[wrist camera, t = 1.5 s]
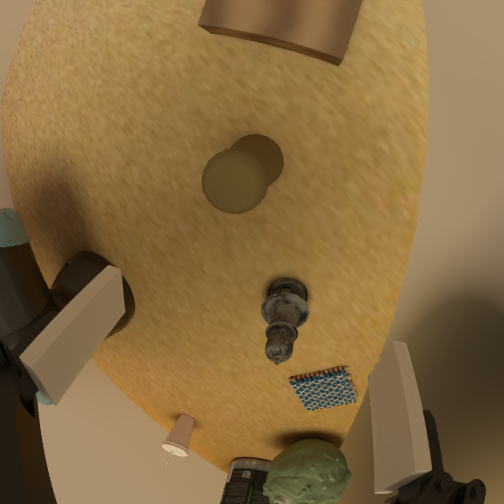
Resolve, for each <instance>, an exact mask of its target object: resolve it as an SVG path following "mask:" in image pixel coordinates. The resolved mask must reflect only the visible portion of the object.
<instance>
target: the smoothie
mask: <svg viewBox="0 0 504 504" xmlns="http://www.w3.org/2000/svg"><path fill="white" fill-rule="evenodd" d="M193 426H194V419H193V418H191V417H190V416H187V415H180V417H179V419H178V420H177V422H176V423H175V425H174V427H173V428H172V430H171V432H170V433H169V435H168V437H167V438H166V440H165V441H163V443H162V447H163V448H164V449H165V450H166V451H168V452H170V454H169V457H168V459H167V461H166V465H168V463H169V461H170V458H171V456H172V454H175V455H178V456H184V457H185V456H187V455H188V453H189V451H188V449H189V444H190V439H191V435H192V430H193Z"/></svg>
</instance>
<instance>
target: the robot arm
mask: <svg viewBox="0 0 504 504" xmlns="http://www.w3.org/2000/svg"><path fill="white" fill-rule="evenodd" d="M29 241H30V238H29V237H28V236H27V234H26V232H25V229H24V227H23V224H22V222H21V219H20V216H19V214H18V213H17V212H16V211H15V210H13V209H11V208H4V209H0V504H57V502H56V499H55V495H54V492H53V488H52V485H51V480H50V476H49V472H48V468H47V464H46V459H45V454H44V448H43V442H42V436H41V430H40V422H39V413H38V403H37V401H38V402H39V403H42V404H45V405H50V404H54V405H56V406H57V404H58V403H59V401H60V400H61V398H62V397H63V395H64V394H65V392H66V391H67V390H68V388H69V387H70V385H71V384H72V382H73V381H74V380H75V378H76V377H77V375H78V374H79V373H80V371H81V370H82V368H83V367H84V366H85V364H86V363H87V362H88V360H89V359H90V358H91V356H92V355H93V354H94V352H95V351H96V350H97V348H98V347H99V346H100V344H101V343H102V342H103V341H104V340H105V339H107V338H109V337H110V336H112V335H114V334H115V333H117V332H119V331H121V330H122V329H123V328H125V327H126V325H127V324H128V323H129V321H130V320H131V319H132V317H133V315H134V309H135V305H134V299H133V296H132V293H131V290H130V288H129V286H128V284H127V283H126V281H125V280H124V278H123V277H122V272H121V269H119V268H116V267H114V266H112V265H111V264H110V263H109V262H108V261H106V260H105V259H103V258H102V257H100V256H98V255H96V254H94V253H90V252H79V253H76V254H74V255H73V256H72V257H71V258H69V259H68V260H67V261H66V262H65V263H64V264H63V266H62V268H61V270H60V271H59V273H58V275H57V277H56V279H55V280H54V282H53V284H52V286H51V288H50V289H49V288H48V286H47V284H46V282H45V280H44V278H43V275H42V273H41V271H40V268H39V266H38V264H37V261H36V259H35V256H34V254H33V251H32V249H31V246H30V243H29ZM368 383H369V392H370V402H371V414H372V428H373V446H374V476H375V477H374V480H375V481H374V482H375V483H374V485H375V487H374V490H375V491H374V494H380V493H391V492H393V491H395V490H397V489H398V491H399V494H397V495H395V496H393V497H391V498H389V499H387V500H386V501H385V503H388V502H390V501H391V502H390V504H484V500H485V495H486V489H485V485H484V483H483V482H482V481H481V480H479V479H474V480H472V481H471V482H469V483H467V484H466V483H461V482H456V481H453V478H452V477H451V475H450V474H449V473H447V472H444V469H443V464H442V457H441V451H440V445H439V440H438V434H437V432H436V430H437V428H436V423H435V419H434V417H433V416H432V414H431V412H430V410H422V405H421V400H420V396H419V391H418V387H417V384H416V379H415V375H414V371H413V367H412V363H411V359H410V356H409V352H408V349H407V345H406V343H404V342H399V341H392V342H391V344H390V346H389V347H388V348H387V350H386V352H385V353H384V354H383V356H382V357H381V359H380V360H379V362H378V363H377V364H376V366H375V367H374V369H373V370H372V371H371V373H370V374H369V375H368Z"/></svg>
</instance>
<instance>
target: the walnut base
mask: <svg viewBox="0 0 504 504" xmlns="http://www.w3.org/2000/svg"><path fill="white" fill-rule="evenodd" d="M361 3H362V0H206V3H205V5H204V8H203V11H202V13H201V16H200V19H199V22H198V25H199V26H201V27H202V28H204V29H205V30H207V31H208V32H209V33H212V34H218V35H225V36H231V37H236V38H241V39H246V40H251V41H256V42H260V43H265V44H269V45H273V46H277V47H281V48H284V49H288V50H291V51H295V52H298V53H302V54H305V55H308V56H311V57H314V58H317V59H320V60H323V61H326V62H329V63H332V64H334V65H337V66H339V65H340V63H341V62H342V60H343V58H344V55H345V52H346V49H347V46H348V43H349V40H350V37H351V34H352V31H353V28H354V25H355V22H356V18H357V15H358V12H359V9H360V6H361Z"/></svg>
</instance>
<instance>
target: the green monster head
mask: <svg viewBox="0 0 504 504" xmlns="http://www.w3.org/2000/svg"><path fill="white" fill-rule="evenodd" d="M350 480H351V473H350V471H349V469H348V466H347V462H346V458H345V456H344V455H343V453H342V452H341V451H340V450H339V449H338V448H337V447H336V446H335V445H333V444H331V443H329V442H327V441H324V440H320V439H316V438H309V439H303V440H300V441H298V442H295V443H293V444H291V445H289V446H288V447H287V448H286V449H284V450H283V451H282V452H281V453H280V454H278V455H277V456H276V457H275V458H274V459H273V460H272V462H271V464H270V467H269V473H268V475H267V478H266V483H265V484H264V485H263V490H264V491H263V495H267V496H268V497H269V499H270V501H269V502H270V503H271V504H335V503H337V501H339V500H340V498H341V496H342V495H343V493H344V491H345V489H346V487H347V486H348V484H349V482H350Z"/></svg>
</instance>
